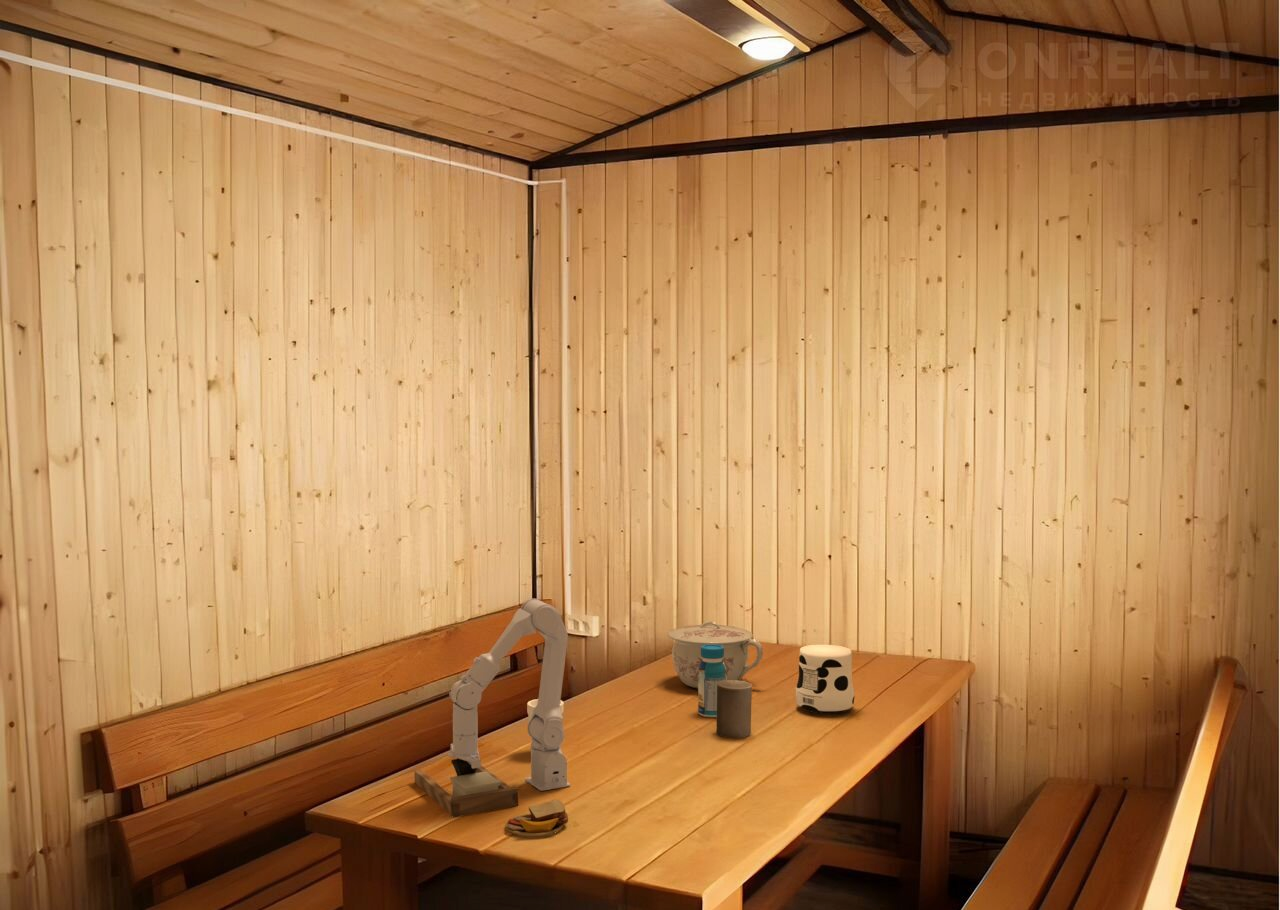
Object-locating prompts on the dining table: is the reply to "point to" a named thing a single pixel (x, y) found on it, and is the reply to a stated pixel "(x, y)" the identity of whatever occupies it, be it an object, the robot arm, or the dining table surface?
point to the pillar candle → (734, 708)
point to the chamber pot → (729, 637)
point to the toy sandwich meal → (539, 820)
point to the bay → (469, 796)
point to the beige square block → (473, 784)
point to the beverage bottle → (710, 678)
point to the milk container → (825, 679)
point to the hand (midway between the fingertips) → (465, 790)
